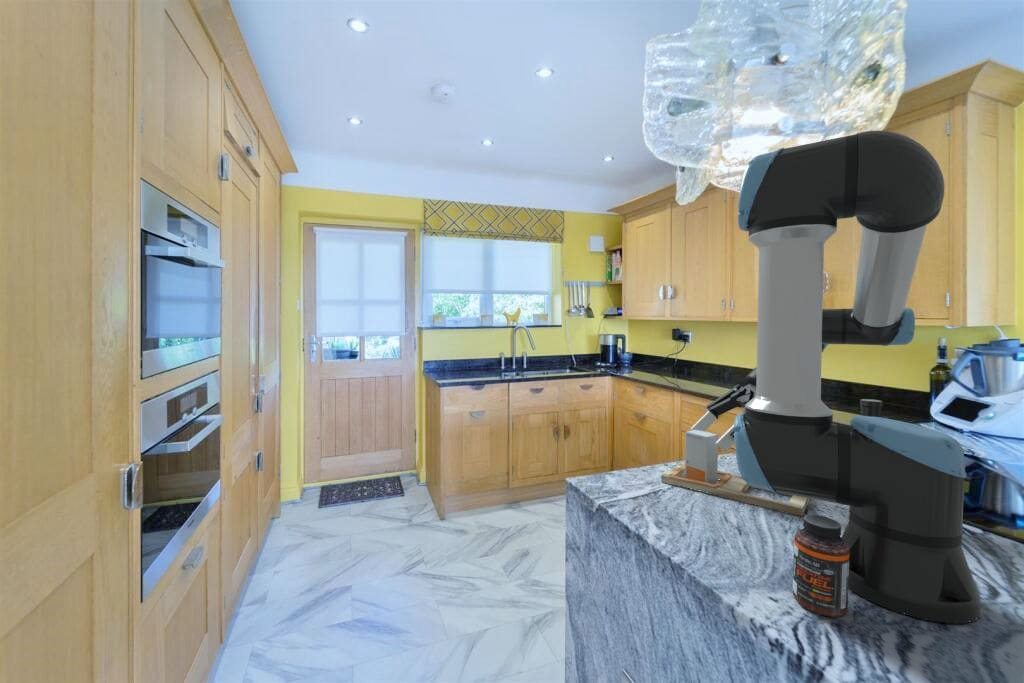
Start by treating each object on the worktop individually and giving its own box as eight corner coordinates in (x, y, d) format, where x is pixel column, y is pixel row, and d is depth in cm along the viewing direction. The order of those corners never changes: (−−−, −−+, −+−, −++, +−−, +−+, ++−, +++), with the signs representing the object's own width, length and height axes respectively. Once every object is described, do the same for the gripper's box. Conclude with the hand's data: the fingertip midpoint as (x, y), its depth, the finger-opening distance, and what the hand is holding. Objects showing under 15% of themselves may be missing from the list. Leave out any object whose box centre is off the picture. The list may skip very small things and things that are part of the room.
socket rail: (801, 516, 82) (801, 507, 82) (661, 481, 101) (661, 474, 101) (810, 498, 91) (810, 490, 91) (680, 469, 110) (680, 462, 110)
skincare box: (684, 480, 102) (684, 431, 102) (695, 477, 104) (696, 429, 104) (706, 488, 97) (707, 436, 97) (718, 485, 99) (719, 434, 99)
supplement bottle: (788, 605, 56) (789, 520, 56) (796, 585, 60) (798, 506, 60) (845, 626, 52) (847, 535, 52) (850, 603, 56) (852, 519, 56)
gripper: (819, 395, 88) (746, 467, 89) (752, 381, 113) (695, 437, 114) (794, 370, 88) (721, 441, 89) (732, 362, 113) (675, 417, 113)
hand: (706, 439), depth 101 cm, fingers open, 13 cm apart
